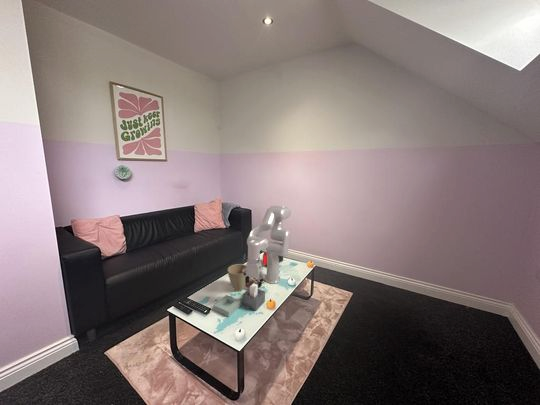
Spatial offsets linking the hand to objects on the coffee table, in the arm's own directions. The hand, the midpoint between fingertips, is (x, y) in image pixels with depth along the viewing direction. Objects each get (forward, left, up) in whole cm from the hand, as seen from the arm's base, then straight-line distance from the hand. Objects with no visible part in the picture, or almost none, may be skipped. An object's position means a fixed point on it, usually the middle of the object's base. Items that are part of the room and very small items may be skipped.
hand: (253, 284), depth 134 cm
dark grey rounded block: (-1, 0, -14) cm, 14 cm away
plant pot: (-9, -19, -14) cm, 25 cm away
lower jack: (+11, -12, -14) cm, 22 cm away
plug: (-1, 0, -8) cm, 8 cm away
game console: (-58, -15, -14) cm, 61 cm away
